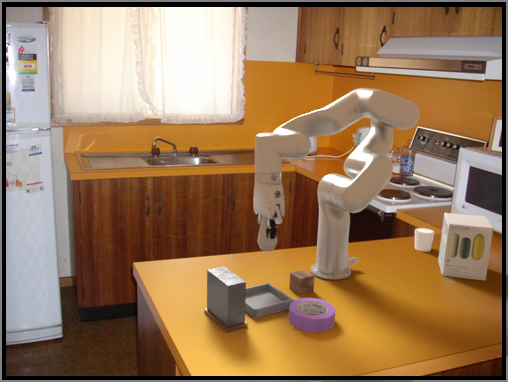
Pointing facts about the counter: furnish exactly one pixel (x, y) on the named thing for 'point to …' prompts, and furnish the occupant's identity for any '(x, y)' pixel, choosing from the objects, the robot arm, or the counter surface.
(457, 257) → the supplement box
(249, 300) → the tray
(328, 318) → the masking tape
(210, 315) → the unit
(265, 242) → the salt shaker
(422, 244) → the shot glass
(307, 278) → the walnut cube
